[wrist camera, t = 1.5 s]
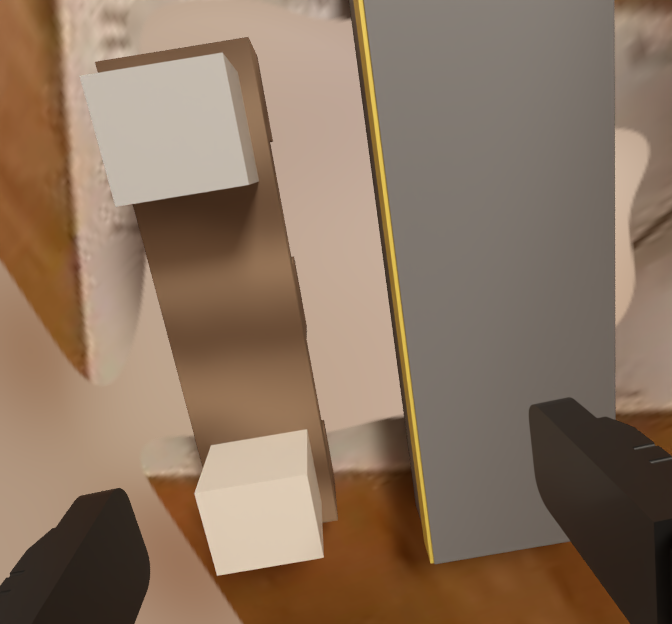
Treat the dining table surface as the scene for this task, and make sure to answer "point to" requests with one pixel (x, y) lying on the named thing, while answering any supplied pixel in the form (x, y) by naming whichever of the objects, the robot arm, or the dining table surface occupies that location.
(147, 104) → the block
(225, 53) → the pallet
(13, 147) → the dining table surface
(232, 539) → the block
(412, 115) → the dock
